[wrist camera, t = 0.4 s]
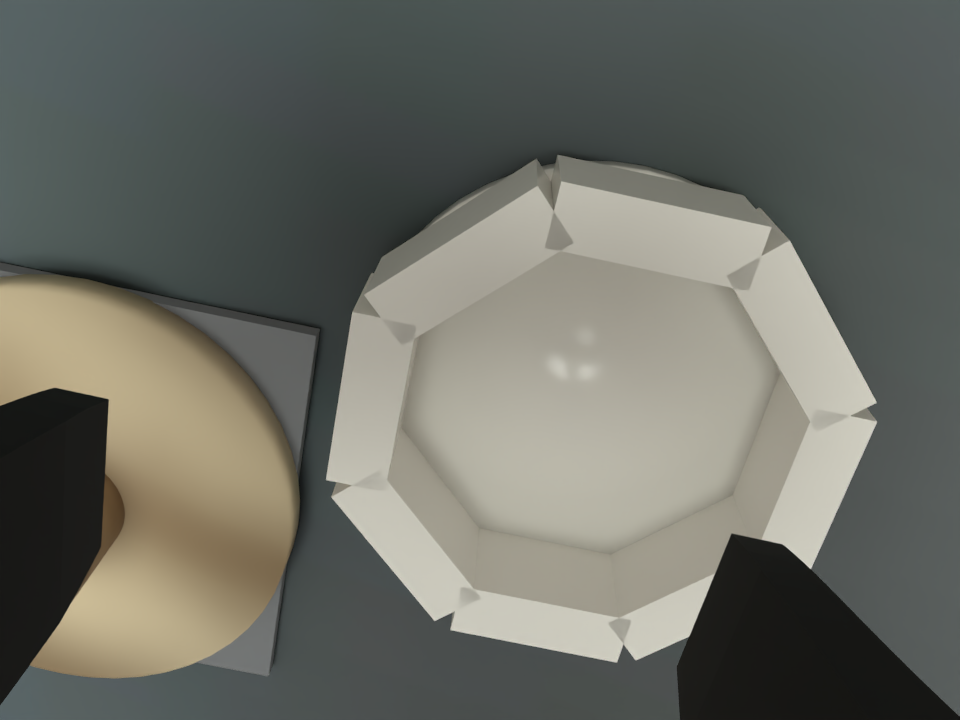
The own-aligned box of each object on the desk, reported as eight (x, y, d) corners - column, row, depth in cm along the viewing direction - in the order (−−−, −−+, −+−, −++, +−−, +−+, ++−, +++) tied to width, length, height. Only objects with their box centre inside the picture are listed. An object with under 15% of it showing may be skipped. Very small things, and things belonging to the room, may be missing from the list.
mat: (272, 665, 24) (268, 676, 24) (-103, 593, 24) (-113, 603, 23) (319, 328, 20) (316, 336, 19) (-134, 234, 19) (-147, 239, 19)
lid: (275, 682, 24) (222, 834, 20) (-120, 607, 23) (-257, 746, 19) (326, 328, 19) (273, 429, 15) (-157, 228, 19) (-344, 304, 15)
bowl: (728, 599, 22) (756, 690, 20) (334, 521, 22) (306, 601, 19) (884, 218, 18) (947, 265, 15) (402, 112, 18) (379, 142, 15)
